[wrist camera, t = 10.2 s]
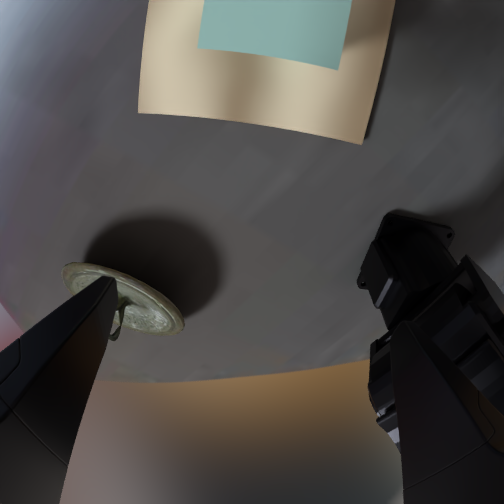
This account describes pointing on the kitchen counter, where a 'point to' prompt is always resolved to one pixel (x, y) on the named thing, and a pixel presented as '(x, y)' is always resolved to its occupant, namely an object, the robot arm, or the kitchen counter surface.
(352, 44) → the pad
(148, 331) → the lid
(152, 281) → the kitchen counter surface
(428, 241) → the robot arm
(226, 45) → the teal block
